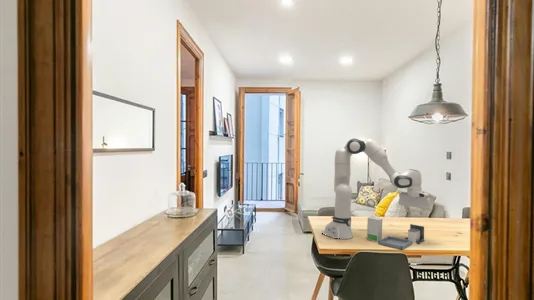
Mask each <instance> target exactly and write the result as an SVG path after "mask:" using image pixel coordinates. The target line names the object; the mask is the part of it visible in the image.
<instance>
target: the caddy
mask: <svg viewBox="0 0 534 300" xmlns="http://www.w3.org/2000/svg"><path fill="white" fill-rule="evenodd" d="M407 237H408V240H410V241H412V244H415V243H416V244H417V241H418V240H420V229H415V228H411V229H410V228H409V229H408V230H407Z"/></svg>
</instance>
